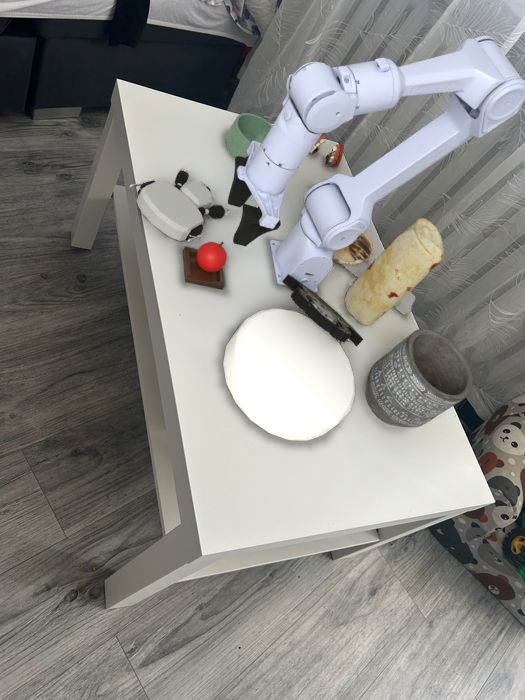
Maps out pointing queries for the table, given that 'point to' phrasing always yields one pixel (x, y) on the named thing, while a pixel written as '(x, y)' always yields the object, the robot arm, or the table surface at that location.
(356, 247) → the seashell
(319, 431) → the container
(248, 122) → the bowl
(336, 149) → the dentures model
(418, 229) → the food model
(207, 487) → the table surface
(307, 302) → the emblem
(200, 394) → the table surface
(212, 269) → the apple
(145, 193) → the robot toy
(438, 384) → the planter
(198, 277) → the coaster
